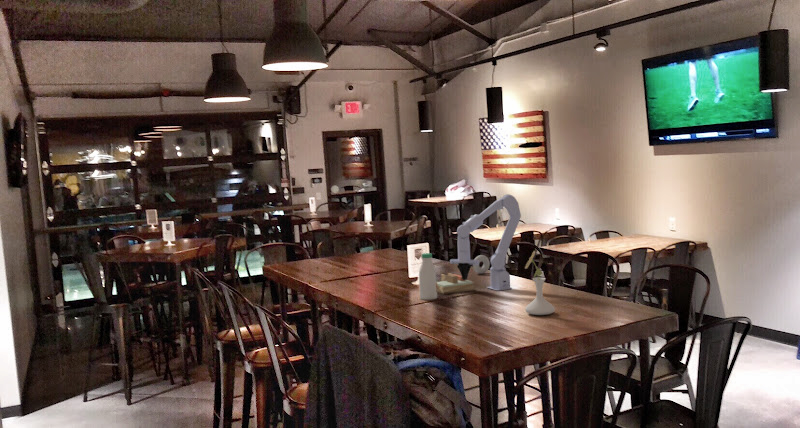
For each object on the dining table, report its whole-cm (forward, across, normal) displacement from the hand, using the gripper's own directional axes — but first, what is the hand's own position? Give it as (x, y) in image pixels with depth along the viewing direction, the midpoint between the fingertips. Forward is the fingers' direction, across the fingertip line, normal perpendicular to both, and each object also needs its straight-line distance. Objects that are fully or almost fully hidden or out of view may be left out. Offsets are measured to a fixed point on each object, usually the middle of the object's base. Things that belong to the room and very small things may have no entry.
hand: (464, 279), depth 318 cm
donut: (+5, +13, -41) cm, 44 cm away
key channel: (+5, +12, -7) cm, 14 cm away
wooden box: (+5, +4, +4) cm, 7 cm away
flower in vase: (+5, -51, +34) cm, 62 cm away
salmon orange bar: (+1, +6, -3) cm, 7 cm away
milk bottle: (+5, +5, +24) cm, 25 cm away
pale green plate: (+2, +4, +4) cm, 6 cm away
